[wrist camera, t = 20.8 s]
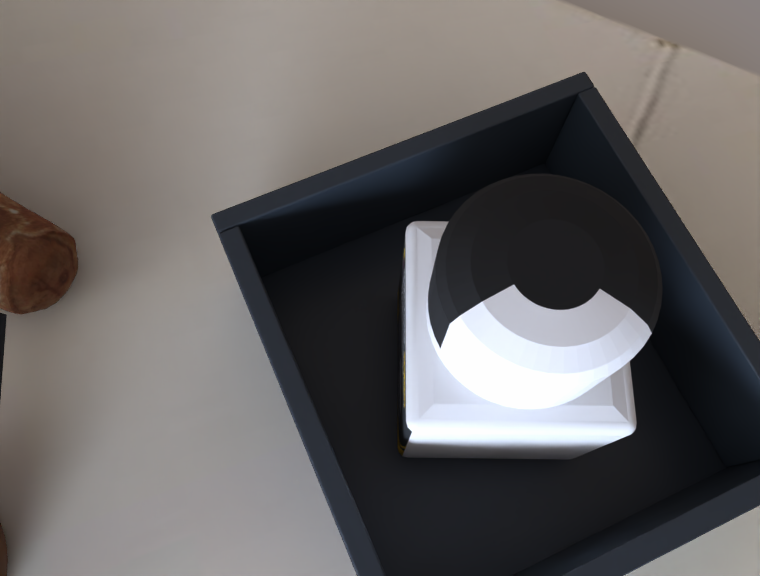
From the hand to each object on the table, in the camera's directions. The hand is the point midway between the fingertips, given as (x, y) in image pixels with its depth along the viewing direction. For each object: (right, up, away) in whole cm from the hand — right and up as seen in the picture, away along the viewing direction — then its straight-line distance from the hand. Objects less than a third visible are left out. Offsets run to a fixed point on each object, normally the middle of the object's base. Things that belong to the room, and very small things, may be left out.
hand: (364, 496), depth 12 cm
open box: (+5, 0, +19) cm, 19 cm away
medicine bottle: (+5, 0, +18) cm, 19 cm away
